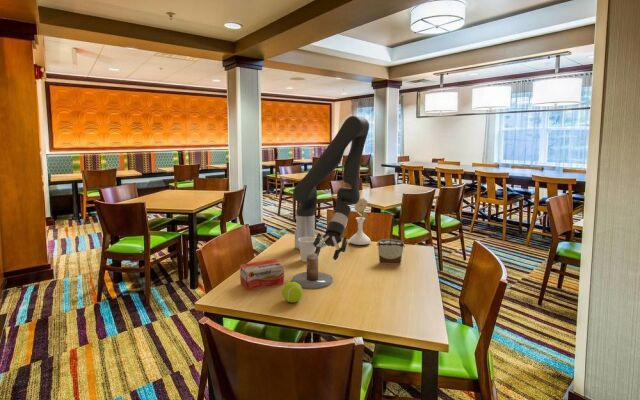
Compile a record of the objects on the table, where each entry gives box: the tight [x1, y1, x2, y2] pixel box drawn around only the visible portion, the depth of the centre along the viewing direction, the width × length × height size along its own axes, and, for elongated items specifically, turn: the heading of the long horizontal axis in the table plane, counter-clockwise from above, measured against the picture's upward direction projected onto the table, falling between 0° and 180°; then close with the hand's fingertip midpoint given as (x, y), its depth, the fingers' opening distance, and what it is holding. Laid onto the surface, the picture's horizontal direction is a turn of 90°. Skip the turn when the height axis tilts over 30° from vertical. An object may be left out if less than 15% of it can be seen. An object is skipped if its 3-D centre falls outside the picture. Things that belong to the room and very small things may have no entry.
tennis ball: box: [281, 281, 304, 303], centre depth 134 cm, size 7×7×7 cm
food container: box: [376, 238, 405, 265], centre depth 176 cm, size 12×6×10 cm, turn 84°
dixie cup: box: [298, 237, 316, 263], centre depth 177 cm, size 8×8×10 cm
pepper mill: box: [306, 253, 319, 281], centre depth 152 cm, size 5×5×10 cm
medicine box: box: [239, 258, 285, 292], centre depth 149 cm, size 15×8×8 cm, turn 119°
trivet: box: [291, 271, 333, 290], centre depth 153 cm, size 16×16×1 cm
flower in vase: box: [348, 197, 372, 246], centre depth 202 cm, size 13×11×25 cm
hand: (325, 257), depth 162 cm, fingers open, 8 cm apart
